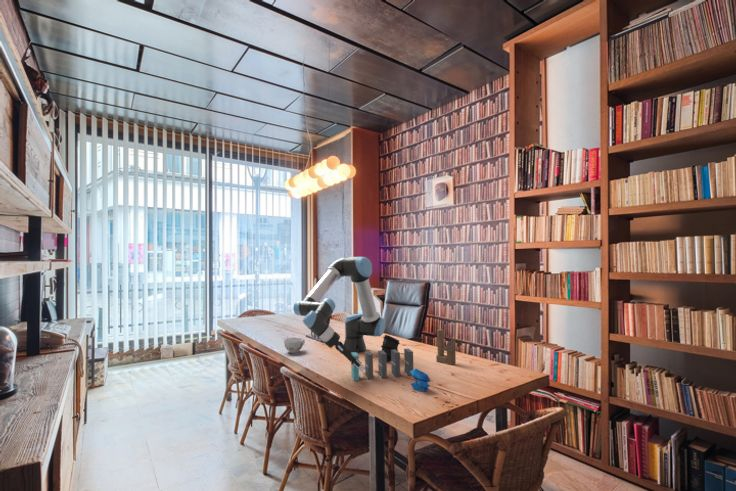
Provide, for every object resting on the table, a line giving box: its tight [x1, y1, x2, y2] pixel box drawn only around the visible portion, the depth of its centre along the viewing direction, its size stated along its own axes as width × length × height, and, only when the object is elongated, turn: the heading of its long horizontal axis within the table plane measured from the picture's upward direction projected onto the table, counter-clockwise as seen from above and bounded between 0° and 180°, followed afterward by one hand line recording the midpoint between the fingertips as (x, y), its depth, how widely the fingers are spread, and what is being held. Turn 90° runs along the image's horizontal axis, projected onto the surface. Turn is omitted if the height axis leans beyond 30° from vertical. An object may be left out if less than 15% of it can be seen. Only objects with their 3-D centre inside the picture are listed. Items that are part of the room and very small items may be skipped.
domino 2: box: [377, 349, 388, 379], centre depth 185 cm, size 2×7×12 cm, turn 13°
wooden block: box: [435, 329, 457, 366], centre depth 207 cm, size 4×11×18 cm, turn 43°
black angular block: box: [380, 334, 401, 363], centre depth 213 cm, size 4×13×15 cm, turn 135°
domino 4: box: [403, 348, 414, 377], centre depth 188 cm, size 2×7×12 cm, turn 13°
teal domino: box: [350, 352, 360, 382], centre depth 182 cm, size 2×7×12 cm, turn 13°
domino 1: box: [364, 350, 374, 381], centre depth 184 cm, size 2×7×12 cm, turn 13°
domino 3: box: [390, 349, 401, 378], centre depth 187 cm, size 2×7×12 cm, turn 13°
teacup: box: [283, 337, 306, 354], centre depth 235 cm, size 15×12×8 cm
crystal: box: [410, 368, 432, 392], centre depth 166 cm, size 7×9×12 cm
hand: (361, 367), depth 183 cm, fingers open, 8 cm apart
